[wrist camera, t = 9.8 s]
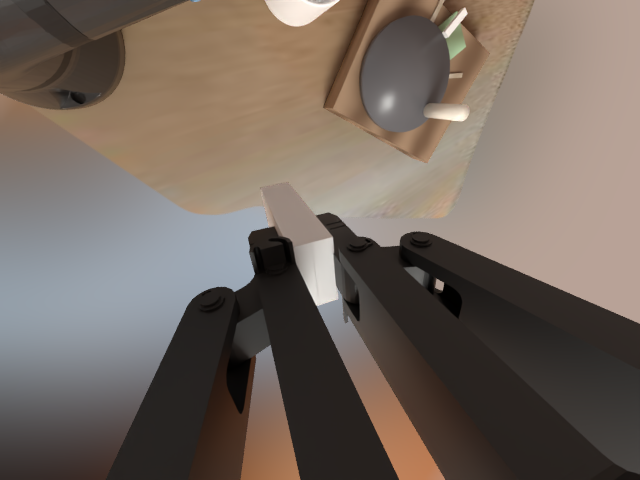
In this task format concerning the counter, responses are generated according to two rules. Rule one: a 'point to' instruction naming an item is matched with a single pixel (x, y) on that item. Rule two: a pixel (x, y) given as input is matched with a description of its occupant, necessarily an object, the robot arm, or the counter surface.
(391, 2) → the board
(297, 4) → the mug
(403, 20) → the gray pegged oval disc
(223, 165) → the counter surface
